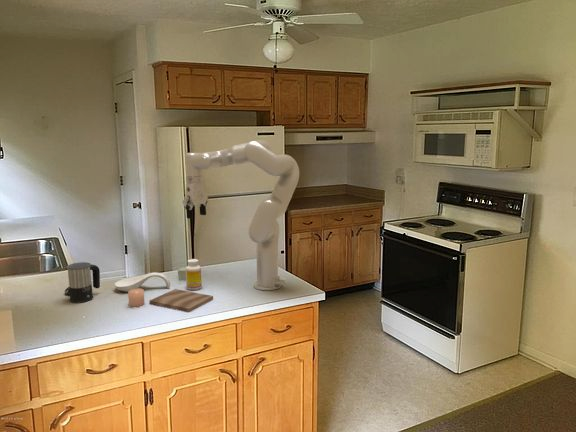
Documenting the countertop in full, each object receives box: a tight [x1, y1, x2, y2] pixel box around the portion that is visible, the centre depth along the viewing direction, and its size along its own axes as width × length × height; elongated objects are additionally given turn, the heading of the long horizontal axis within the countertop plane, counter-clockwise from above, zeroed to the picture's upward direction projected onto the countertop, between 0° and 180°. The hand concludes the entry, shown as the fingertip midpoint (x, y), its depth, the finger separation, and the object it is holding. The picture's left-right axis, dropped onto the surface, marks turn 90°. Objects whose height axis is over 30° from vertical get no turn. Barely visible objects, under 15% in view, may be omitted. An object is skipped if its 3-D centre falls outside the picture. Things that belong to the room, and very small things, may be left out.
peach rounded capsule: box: [127, 287, 145, 308], centre depth 196 cm, size 6×6×6 cm
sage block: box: [177, 266, 187, 282], centre depth 229 cm, size 5×5×5 cm
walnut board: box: [149, 288, 214, 313], centre depth 200 cm, size 20×16×2 cm
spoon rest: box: [113, 272, 171, 293], centre depth 215 cm, size 24×12×7 cm, turn 100°
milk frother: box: [64, 261, 101, 303], centre depth 204 cm, size 14×16×15 cm
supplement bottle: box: [185, 258, 202, 291], centre depth 216 cm, size 7×7×13 cm
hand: (196, 216), depth 225 cm, fingers open, 9 cm apart
